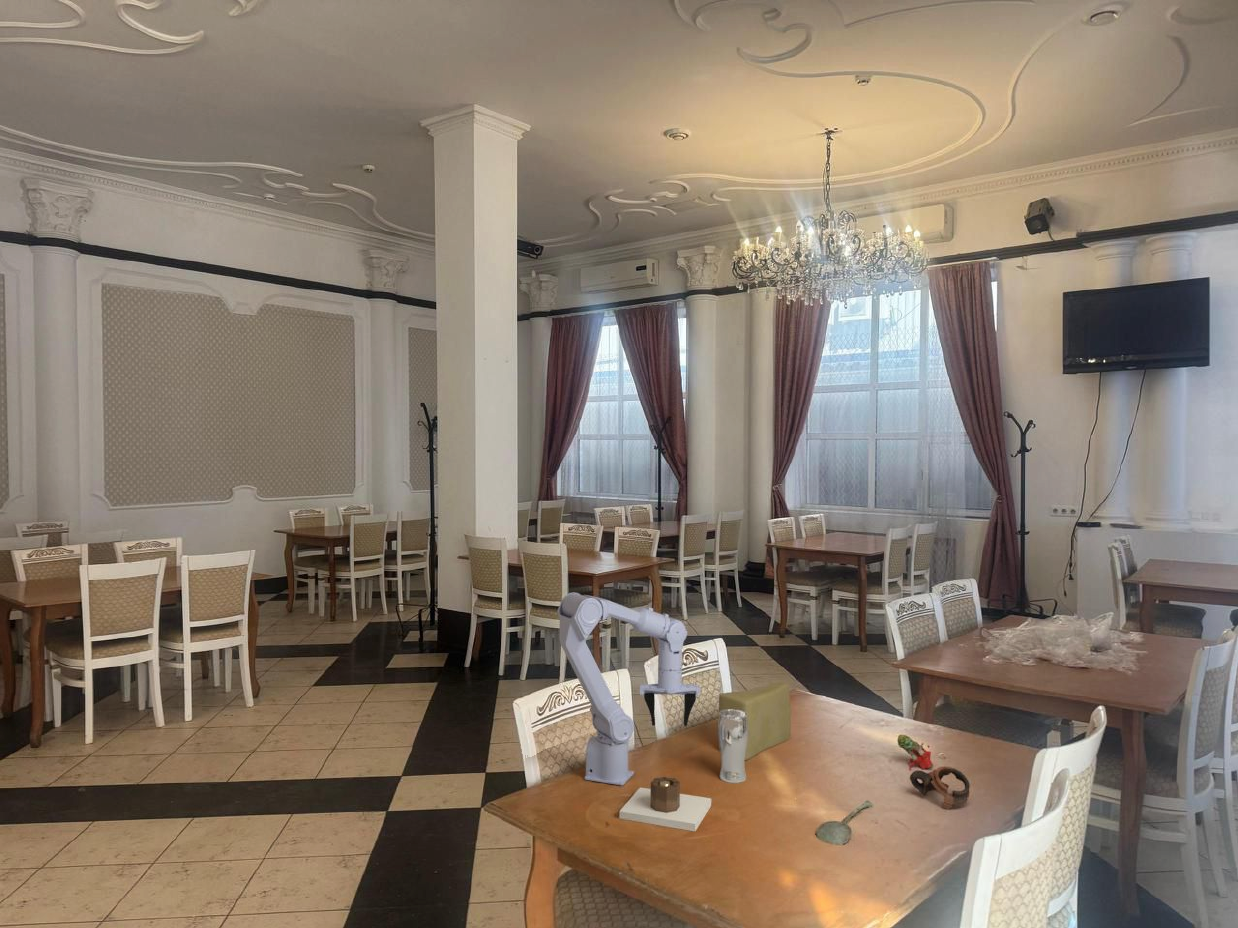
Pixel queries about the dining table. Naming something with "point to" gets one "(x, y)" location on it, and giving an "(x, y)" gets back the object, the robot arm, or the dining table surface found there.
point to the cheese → (762, 715)
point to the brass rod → (665, 783)
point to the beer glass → (733, 744)
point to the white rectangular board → (683, 818)
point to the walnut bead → (665, 795)
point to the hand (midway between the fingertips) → (669, 724)
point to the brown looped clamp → (941, 785)
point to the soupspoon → (838, 828)
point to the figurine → (915, 752)
